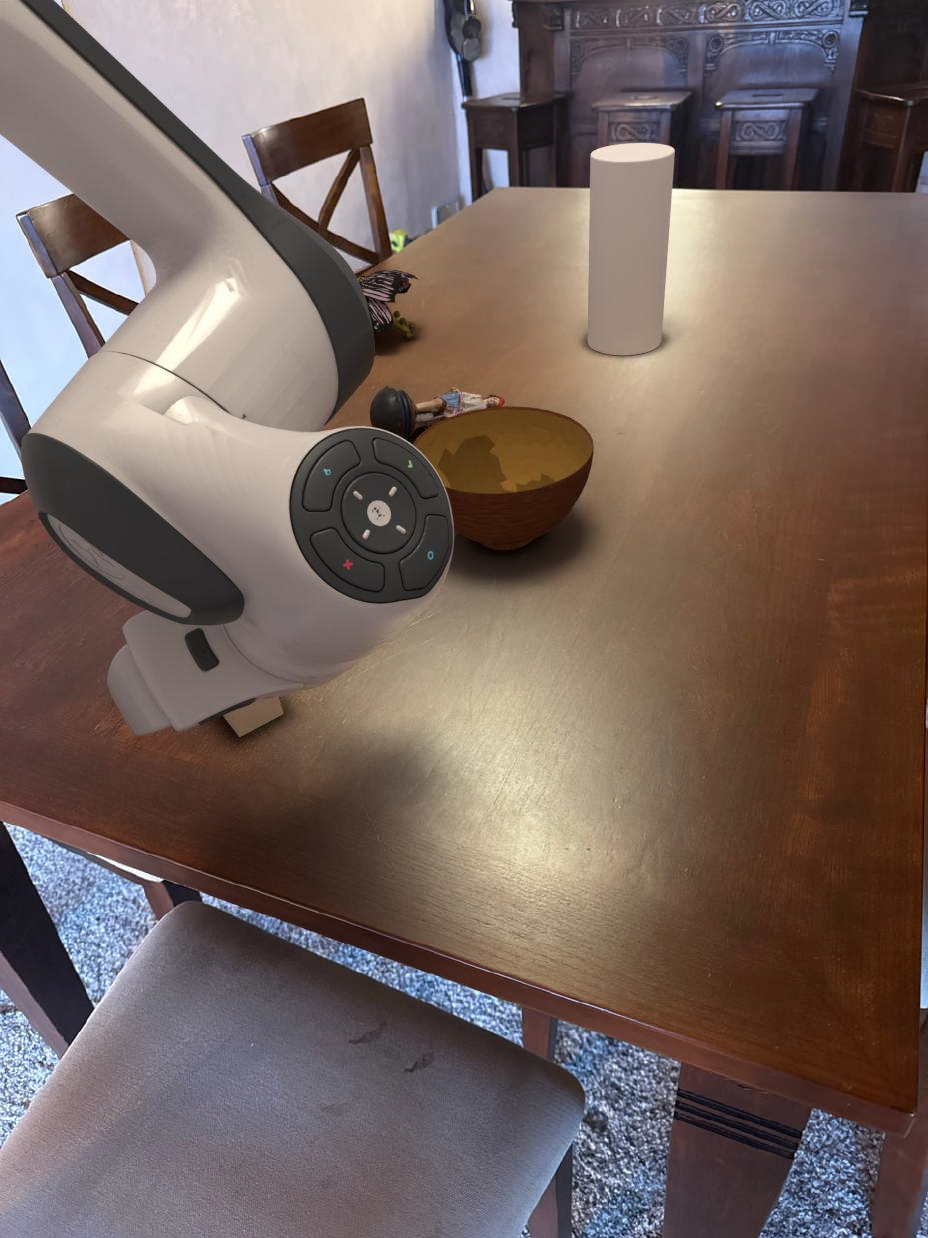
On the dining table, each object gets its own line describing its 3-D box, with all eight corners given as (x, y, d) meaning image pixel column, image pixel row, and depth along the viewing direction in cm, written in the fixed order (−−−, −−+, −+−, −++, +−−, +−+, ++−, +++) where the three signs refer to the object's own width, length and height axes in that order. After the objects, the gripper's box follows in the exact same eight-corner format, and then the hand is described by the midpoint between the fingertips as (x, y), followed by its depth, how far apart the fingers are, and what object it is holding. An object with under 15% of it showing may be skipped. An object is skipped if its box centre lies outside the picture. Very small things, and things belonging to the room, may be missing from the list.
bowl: (586, 588, 81) (587, 496, 75) (404, 580, 84) (391, 491, 78) (596, 491, 94) (598, 406, 88) (438, 487, 98) (430, 405, 91)
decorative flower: (350, 258, 136) (419, 238, 126) (388, 321, 143) (456, 307, 133) (299, 313, 129) (368, 297, 120) (342, 377, 136) (410, 366, 127)
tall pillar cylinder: (573, 345, 127) (573, 156, 111) (614, 322, 133) (621, 139, 117) (634, 361, 121) (644, 163, 105) (675, 336, 127) (690, 145, 111)
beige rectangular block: (239, 737, 69) (210, 653, 64) (214, 704, 72) (184, 621, 67) (283, 714, 71) (259, 630, 65) (256, 682, 74) (231, 600, 69)
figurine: (363, 374, 105) (501, 362, 110) (361, 419, 110) (494, 405, 115) (378, 412, 100) (522, 398, 105) (376, 457, 105) (513, 441, 110)
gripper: (425, 489, 52) (364, 554, 64) (91, 635, 43) (95, 678, 56) (475, 581, 52) (404, 629, 64) (150, 747, 43) (141, 765, 55)
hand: (259, 653), depth 60 cm, fingers open, 8 cm apart
